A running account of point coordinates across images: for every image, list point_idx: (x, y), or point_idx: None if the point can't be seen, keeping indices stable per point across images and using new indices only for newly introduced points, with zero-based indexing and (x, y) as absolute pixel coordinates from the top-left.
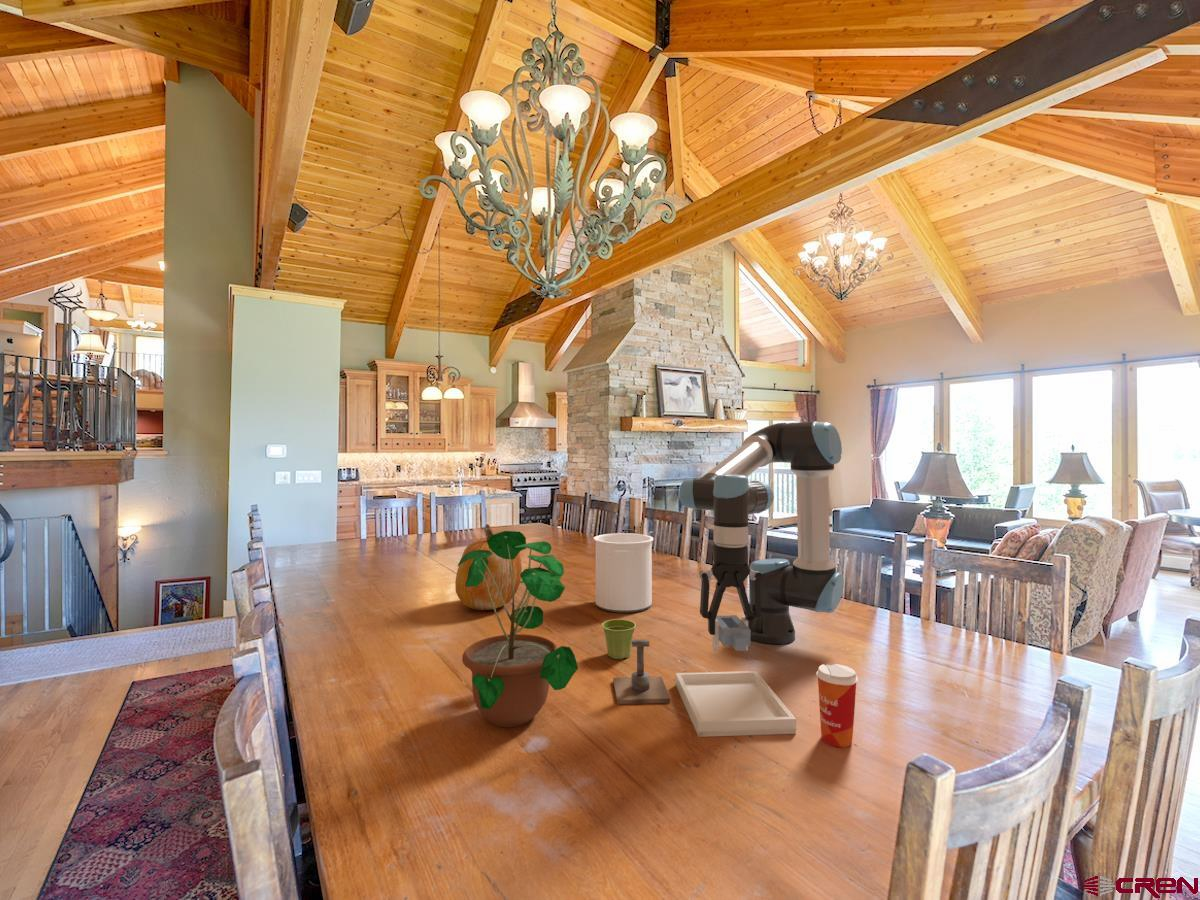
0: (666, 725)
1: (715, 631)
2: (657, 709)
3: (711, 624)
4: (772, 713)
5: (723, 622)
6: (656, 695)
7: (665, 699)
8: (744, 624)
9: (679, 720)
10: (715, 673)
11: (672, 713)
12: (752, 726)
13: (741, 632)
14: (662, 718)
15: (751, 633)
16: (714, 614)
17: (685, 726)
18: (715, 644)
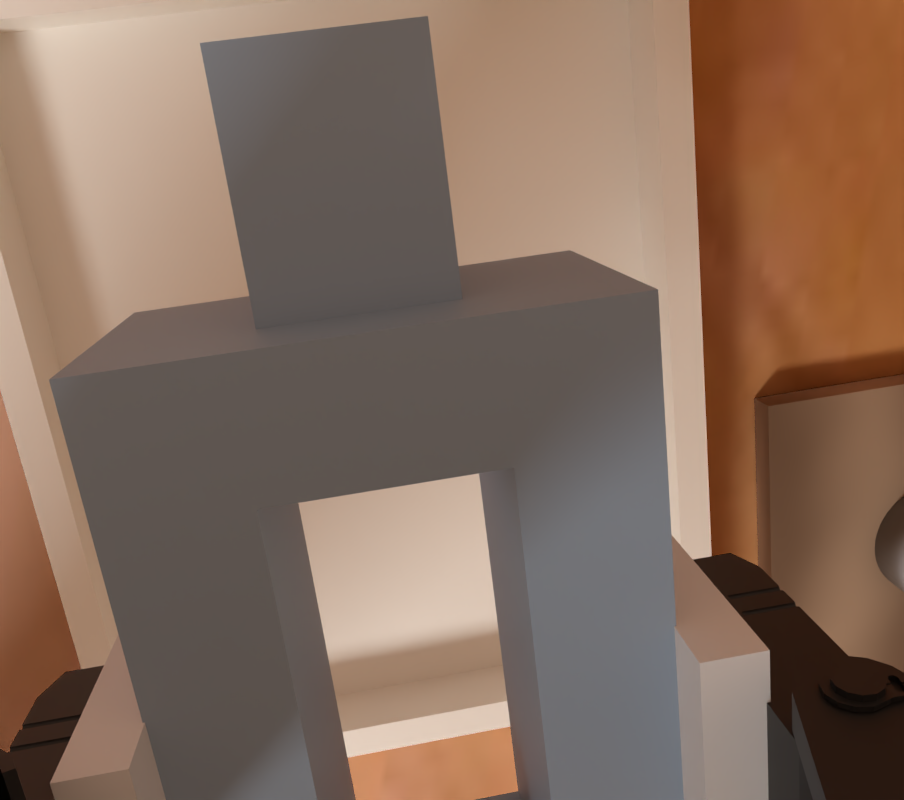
0: (825, 83)
1: (686, 563)
2: (845, 301)
3: (800, 643)
4: (79, 241)
5: (563, 758)
6: (847, 439)
7: (795, 398)
8: (155, 705)
9: (732, 159)
10: (436, 718)
11: (761, 254)
12: None
13: (267, 333)
14: (834, 179)
15: (62, 678)
16: (880, 752)
17: (706, 76)
18: None
